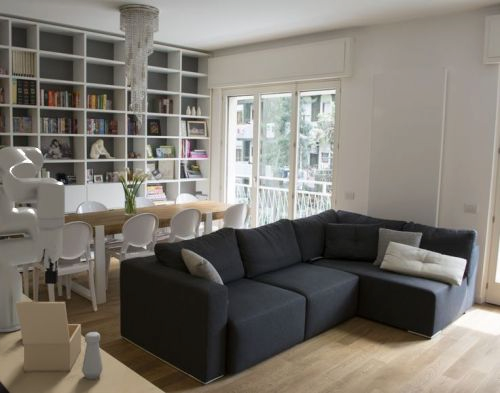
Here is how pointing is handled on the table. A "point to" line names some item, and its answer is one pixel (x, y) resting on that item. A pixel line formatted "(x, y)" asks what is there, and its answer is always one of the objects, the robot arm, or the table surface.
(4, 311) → the robot arm
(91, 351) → the salt shaker
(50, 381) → the table surface
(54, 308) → the flap
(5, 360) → the table surface
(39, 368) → the carton
